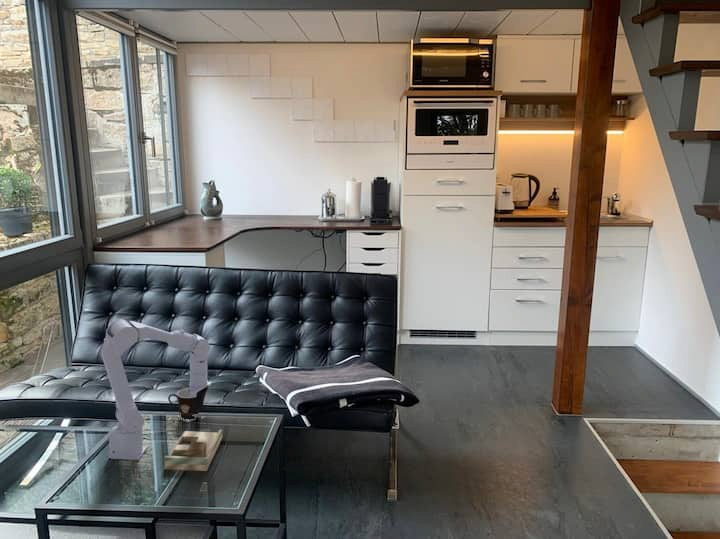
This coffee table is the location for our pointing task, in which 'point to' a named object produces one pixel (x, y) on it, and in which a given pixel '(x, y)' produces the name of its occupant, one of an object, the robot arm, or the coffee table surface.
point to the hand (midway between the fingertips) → (198, 407)
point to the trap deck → (180, 451)
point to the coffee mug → (185, 404)
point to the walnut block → (197, 449)
